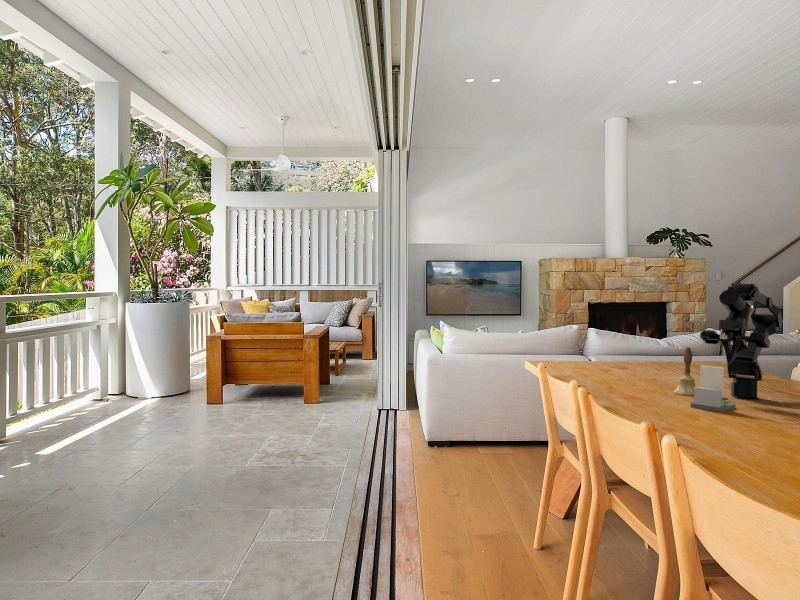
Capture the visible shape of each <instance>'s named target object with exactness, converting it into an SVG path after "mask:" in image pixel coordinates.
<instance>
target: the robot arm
mask: <svg viewBox="0 0 800 600" xmlns="http://www.w3.org/2000/svg"><path fill="white" fill-rule="evenodd" d="M718 298H719V302H720V303H721V304H722V306H723V307H724V308H725V309H726V311H727V312H728V316H727V317H726V318H725V319H719V321H718V331H720V330H721V334H720V333H719V334H718V332H716V331H715V330H709V329H703V330H702V331H701V332H700V334H699V338H700V339H701V340H702V341H703V343H705V344H707V345H718V344H719V343H720V345H721V346H722V347H723V348H724V354H725V360H726V363H727V365H726V367H727V374H728V375H727V376H728V378H729V379H732V382H731V384H730V385H731V387H730V395H731V396H733V397H734V398H737V399H743V400H744V399H747V400H749V399H750V400H760V397H759V396H758V381H759V382H762V381H763V372H762V369H761V367H760V364H759V360H758V357H759V356H760V353H761V352H762V350H763V349H770V346H771V340H770V339H769V337H770V336H772V335H776V334H777V333H778V332H779V330H780V328H783V327H782V326H783V317H782V312H781V310H780V309H779V308H778V307H777V305H776V304H774V300H773V297H770V296H767V295H765V294H764V293H761V292H760V290H759V287H758V286H757V285H756V284H755V283H732V285H731V286H727V289H725V290H723V291H722V292H721V293H720V294H719V297H718ZM751 305H752V306H753V310H752V307H751ZM757 309H768V311H769V312H771V313H757V312H756V311H757ZM750 313H751V315H750ZM750 318H751V319H750ZM749 319H750V320H751V323H752V327H753V330H752V332H750V334H749V335H746V334H747V329H749V324H748V323H749ZM722 333H723V334H722Z"/></svg>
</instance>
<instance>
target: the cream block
mask: <svg viewBox="0 0 800 600" xmlns="http://www.w3.org/2000/svg"><path fill="white" fill-rule="evenodd" d="M724 379H725V367H720V366H712V365H711V366H710V365H702V364H701V365H700V381H699V382H700V384H699V385H700V386H699V387H703V388H710V389H718V390H721V405H723V402H724V401H729V397H724V391H725V390H724V388H725V386H724V384H725V380H724Z"/></svg>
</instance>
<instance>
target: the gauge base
mask: <svg viewBox="0 0 800 600" xmlns="http://www.w3.org/2000/svg"><path fill="white" fill-rule="evenodd" d="M693 398H694V399H693V402H691V403H690V408H694V409H700V410H707V411H714V412H720V413H724V412H728V411H731V410H734V409H736V403H730V402H729V400H723V405H721V390H718V389H710V388H703V387H700V386H696V387H694V396H693Z"/></svg>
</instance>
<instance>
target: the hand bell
mask: <svg viewBox="0 0 800 600" xmlns="http://www.w3.org/2000/svg"><path fill="white" fill-rule="evenodd" d="M692 361H693V353H692V349H691V347H688V346H687V347H686V348H685V350H684V353H683V363H684V375H683V376H681V377H679V382H678V385H677V387H676V388H675V390H674V389H673V393H674V394H677V395H680V396H681V395H682V396H690V397H691V396H692V397H694V387H697V386H696V382H695V381H696V380H695V378H694V377H692V375H691V364H692Z"/></svg>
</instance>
